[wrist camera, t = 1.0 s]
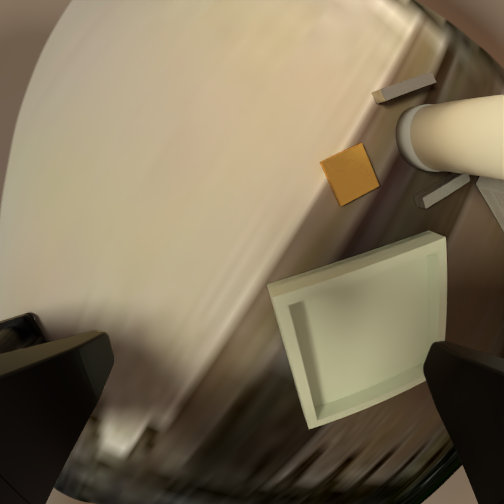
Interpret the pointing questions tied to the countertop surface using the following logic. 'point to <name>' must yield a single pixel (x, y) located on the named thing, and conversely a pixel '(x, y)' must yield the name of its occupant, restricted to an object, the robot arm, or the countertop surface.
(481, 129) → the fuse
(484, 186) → the supplement box
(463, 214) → the countertop surface
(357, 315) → the tray
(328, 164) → the blocks
